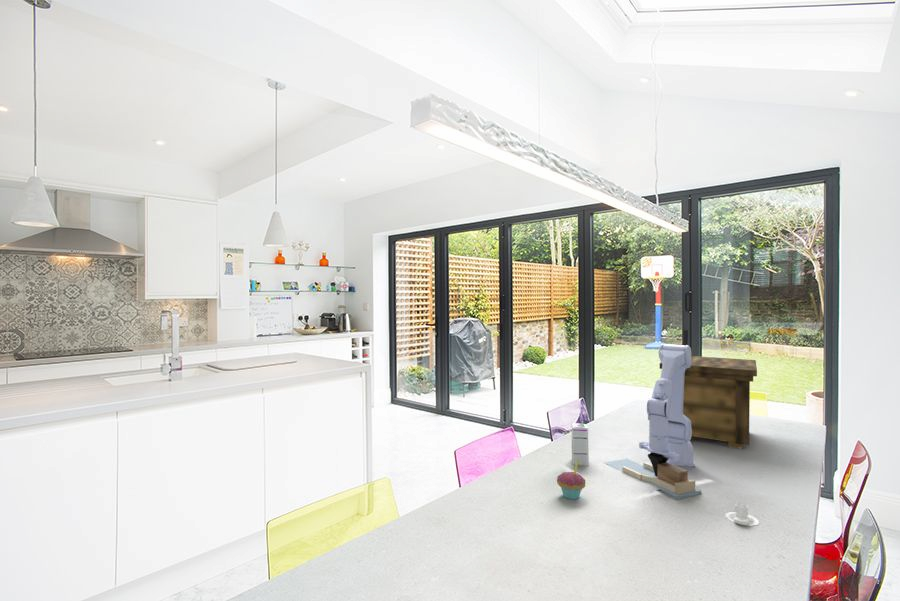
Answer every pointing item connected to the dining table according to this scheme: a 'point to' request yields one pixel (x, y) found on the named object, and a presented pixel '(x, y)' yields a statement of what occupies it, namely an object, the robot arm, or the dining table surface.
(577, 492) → the cupcake
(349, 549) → the dining table surface
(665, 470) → the brown prism
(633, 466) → the slide board
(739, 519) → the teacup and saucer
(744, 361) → the crate
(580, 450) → the syrup box
